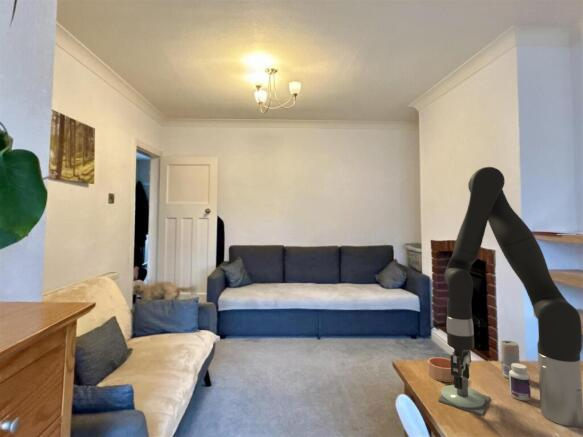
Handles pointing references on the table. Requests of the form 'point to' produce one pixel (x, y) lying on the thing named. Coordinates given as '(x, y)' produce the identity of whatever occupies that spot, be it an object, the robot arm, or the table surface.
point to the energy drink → (509, 356)
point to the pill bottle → (519, 382)
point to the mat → (473, 410)
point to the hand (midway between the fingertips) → (462, 383)
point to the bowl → (440, 369)
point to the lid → (463, 396)
